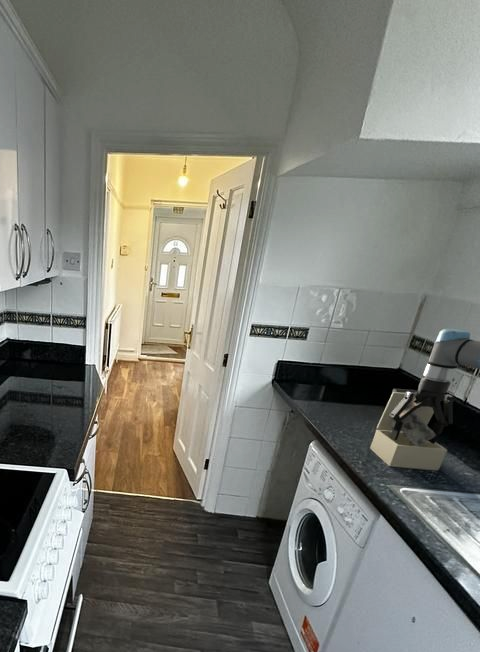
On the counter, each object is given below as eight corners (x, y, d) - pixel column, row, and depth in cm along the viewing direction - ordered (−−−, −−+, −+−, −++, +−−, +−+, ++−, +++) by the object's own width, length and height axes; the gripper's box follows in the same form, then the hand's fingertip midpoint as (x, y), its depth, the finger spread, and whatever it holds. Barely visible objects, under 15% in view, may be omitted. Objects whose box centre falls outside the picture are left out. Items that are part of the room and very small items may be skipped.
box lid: (442, 396, 140) (428, 386, 146) (393, 392, 141) (382, 383, 148) (423, 432, 147) (411, 421, 154) (377, 428, 148) (367, 418, 155)
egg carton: (429, 437, 142) (438, 436, 138) (410, 449, 142) (419, 448, 138) (410, 411, 143) (418, 410, 139) (391, 423, 143) (399, 422, 139)
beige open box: (438, 470, 138) (447, 449, 135) (389, 466, 140) (397, 445, 136) (414, 452, 151) (422, 433, 148) (369, 448, 152) (376, 429, 149)
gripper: (467, 378, 135) (441, 438, 144) (391, 372, 137) (370, 432, 145) (484, 385, 128) (456, 448, 137) (404, 378, 130) (381, 441, 139)
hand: (412, 440), depth 141 cm, fingers closed on egg carton, 11 cm apart
